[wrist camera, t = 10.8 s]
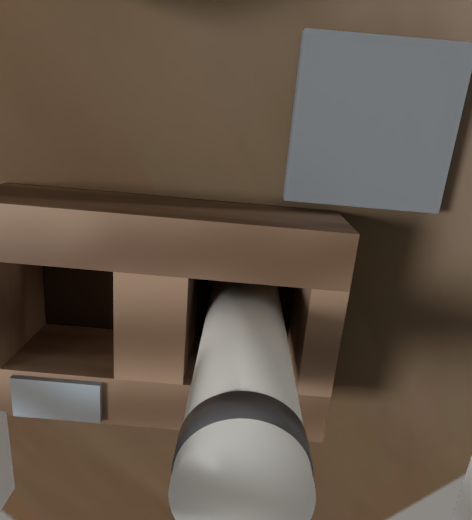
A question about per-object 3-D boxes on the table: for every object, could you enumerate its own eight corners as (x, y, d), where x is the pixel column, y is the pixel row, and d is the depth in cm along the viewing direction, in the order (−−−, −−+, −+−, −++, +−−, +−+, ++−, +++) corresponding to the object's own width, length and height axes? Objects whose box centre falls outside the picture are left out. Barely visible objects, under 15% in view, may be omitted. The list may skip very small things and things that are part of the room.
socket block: (6, 182, 23) (-61, 199, 18) (336, 211, 23) (361, 235, 18) (21, 363, 27) (-32, 420, 22) (308, 388, 27) (323, 450, 22)
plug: (212, 261, 24) (169, 430, 11) (284, 267, 24) (328, 444, 11) (207, 326, 26) (164, 548, 12) (275, 332, 26) (306, 561, 12)
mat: (302, 32, 21) (304, 27, 20) (467, 46, 21) (478, 42, 20) (282, 197, 23) (284, 200, 22) (430, 210, 23) (438, 213, 22)
